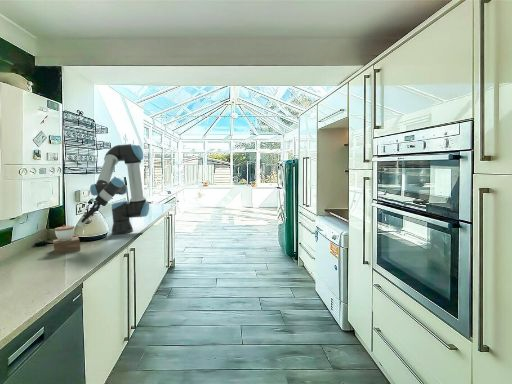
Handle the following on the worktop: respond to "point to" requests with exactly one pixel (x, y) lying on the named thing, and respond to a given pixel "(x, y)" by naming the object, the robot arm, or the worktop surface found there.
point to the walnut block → (66, 245)
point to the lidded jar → (64, 232)
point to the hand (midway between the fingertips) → (80, 224)
